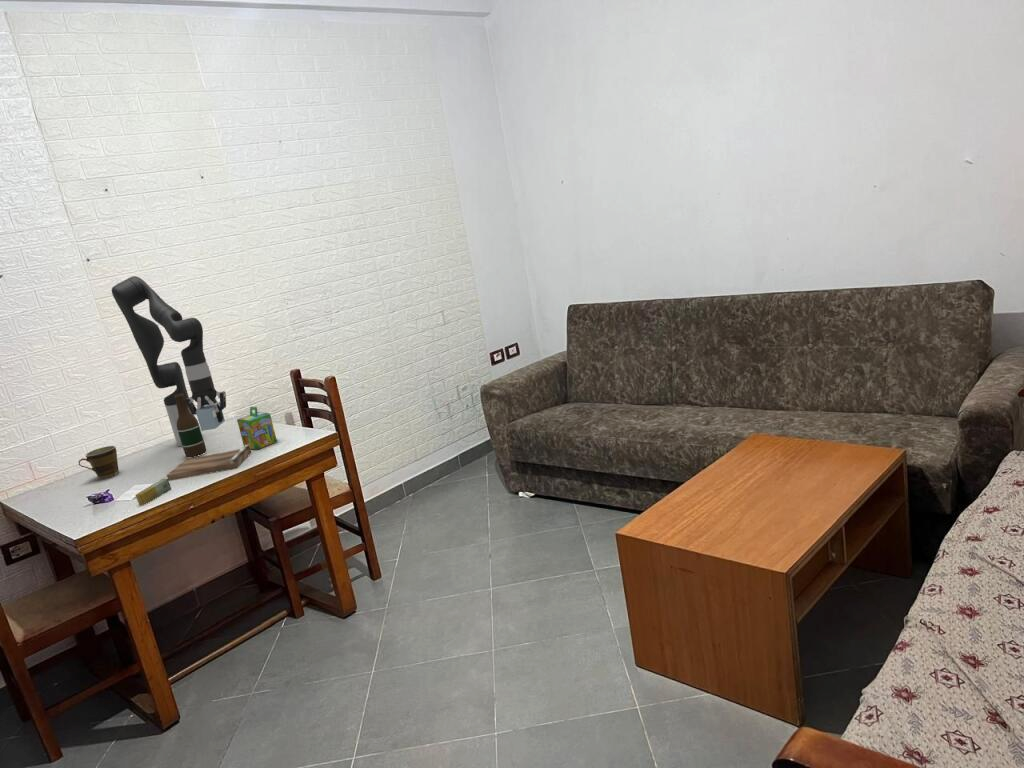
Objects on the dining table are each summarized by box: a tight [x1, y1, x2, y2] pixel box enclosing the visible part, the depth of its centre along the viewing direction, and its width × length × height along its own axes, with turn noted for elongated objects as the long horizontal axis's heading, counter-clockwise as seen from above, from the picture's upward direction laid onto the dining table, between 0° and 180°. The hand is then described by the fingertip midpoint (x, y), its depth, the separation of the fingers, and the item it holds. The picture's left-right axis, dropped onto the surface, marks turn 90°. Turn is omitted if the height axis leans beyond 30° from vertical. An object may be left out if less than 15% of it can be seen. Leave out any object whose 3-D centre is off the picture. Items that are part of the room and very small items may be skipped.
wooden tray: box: [166, 445, 252, 481], centre depth 258 cm, size 16×24×3 cm, turn 91°
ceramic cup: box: [78, 445, 120, 480], centre depth 268 cm, size 13×10×10 cm
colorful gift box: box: [236, 406, 278, 451], centre depth 272 cm, size 9×9×15 cm
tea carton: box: [196, 401, 226, 432], centre depth 254 cm, size 5×9×7 cm, turn 1°
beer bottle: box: [174, 393, 207, 458], centre depth 275 cm, size 8×8×24 cm
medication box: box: [135, 478, 172, 506], centre depth 236 cm, size 12×3×4 cm, turn 163°
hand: (212, 423), depth 255 cm, fingers closed on tea carton, 5 cm apart
